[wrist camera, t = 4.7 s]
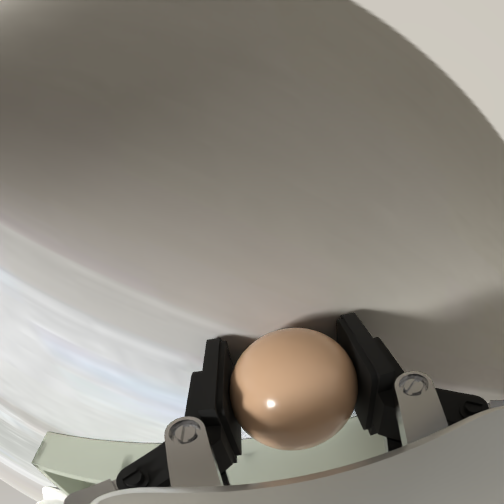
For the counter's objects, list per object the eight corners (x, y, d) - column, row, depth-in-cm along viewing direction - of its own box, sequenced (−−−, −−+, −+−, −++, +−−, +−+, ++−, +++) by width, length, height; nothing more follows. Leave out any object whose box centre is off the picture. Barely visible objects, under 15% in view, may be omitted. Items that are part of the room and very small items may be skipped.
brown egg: (218, 316, 11) (210, 402, 7) (335, 294, 11) (384, 367, 7) (240, 398, 12) (244, 479, 8) (337, 379, 12) (369, 454, 8)
